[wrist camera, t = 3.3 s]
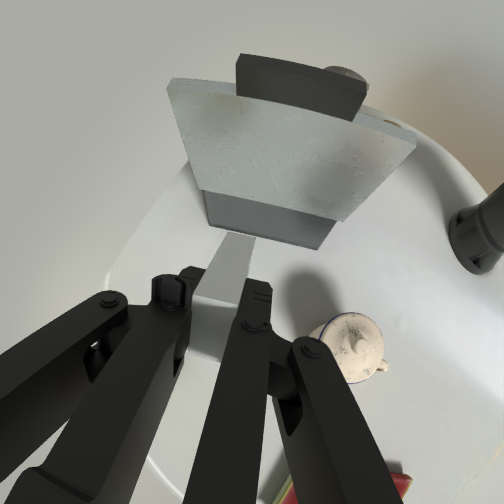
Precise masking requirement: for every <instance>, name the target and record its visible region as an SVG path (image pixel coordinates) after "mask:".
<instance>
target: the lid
mask: <svg viewBox="0 0 504 504" xmlns="http://www.w3.org/2000/svg"><path fill="white" fill-rule="evenodd" d="M167 92H168V95H169V99H170V102H171V105H172V108H173V112H174V115H175V118H176V121H177V124H178V128H179V130H180V134H181V137H182V140H183V143H184V146H185V149H186V152H187V155H188V158H189V161H190V164H191V167H192V170H193V173H194V176H195V179H196V182H197V185H198V188H199V189H200V190H205V191H210V192H215V193H220V194H225V195H230V196H235V197H239V198H244V199H249V200H253V201H258V202H262V203H267V204H271V205H275V206H280V207H284V208H288V209H292V210H297V211H301V212H305V213H309V214H313V215H317V216H321V217H325V218H329V219H333V220H336V221H340V222H344V221H345V220H346V219H347V218H348V217H349V216H350V215H351V214H352V213H353V212H354V211H355V210H356V209H357V208H358V207H359V206H360V205H361V204H362V203H363V202H364V201H365V200H366V199H367V198H368V197H369V196H370V195H371V194H372V193H373V192H374V191H375V190H376V188H377V187H378V186H379V185H380V184H381V183H382V182H383V181H384V180H385V179H386V178H387V177H388V176H389V175H390V174H391V173H392V172H393V171H394V170H395V169H396V168H397V167H398V166H399V165H400V164H401V163H402V162H403V160H404V159H405V158H406V157H407V156H408V155H409V154H410V153H411V152H412V151H413V150H414V149H415V148H416V147H417V141H416V134H415V133H413V132H410V131H408V130H406V129H403V128H401V127H398V126H396V125H393V124H390V123H388V122H385V121H382V120H380V119H377V118H374V117H371V116H368V115H365V114H362V113H359V112H358V110H359V108H360V106H361V104H362V102H363V100H364V99H365V97H366V95H367V89H366V82H364V81H361V80H358V79H354V78H351V77H348V76H345V75H342V74H338V73H335V72H331V71H328V70H324V69H320V68H316V67H312V66H308V65H304V64H299V63H295V62H290V61H285V60H280V59H274V58H269V57H263V56H256V55H250V54H242V53H241V54H240V56H239V58H238V60H237V62H236V84H233V83H226V82H217V81H208V80H198V79H185V78H172V79H171V81H170V83H169V85H168V86H167Z"/></svg>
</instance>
